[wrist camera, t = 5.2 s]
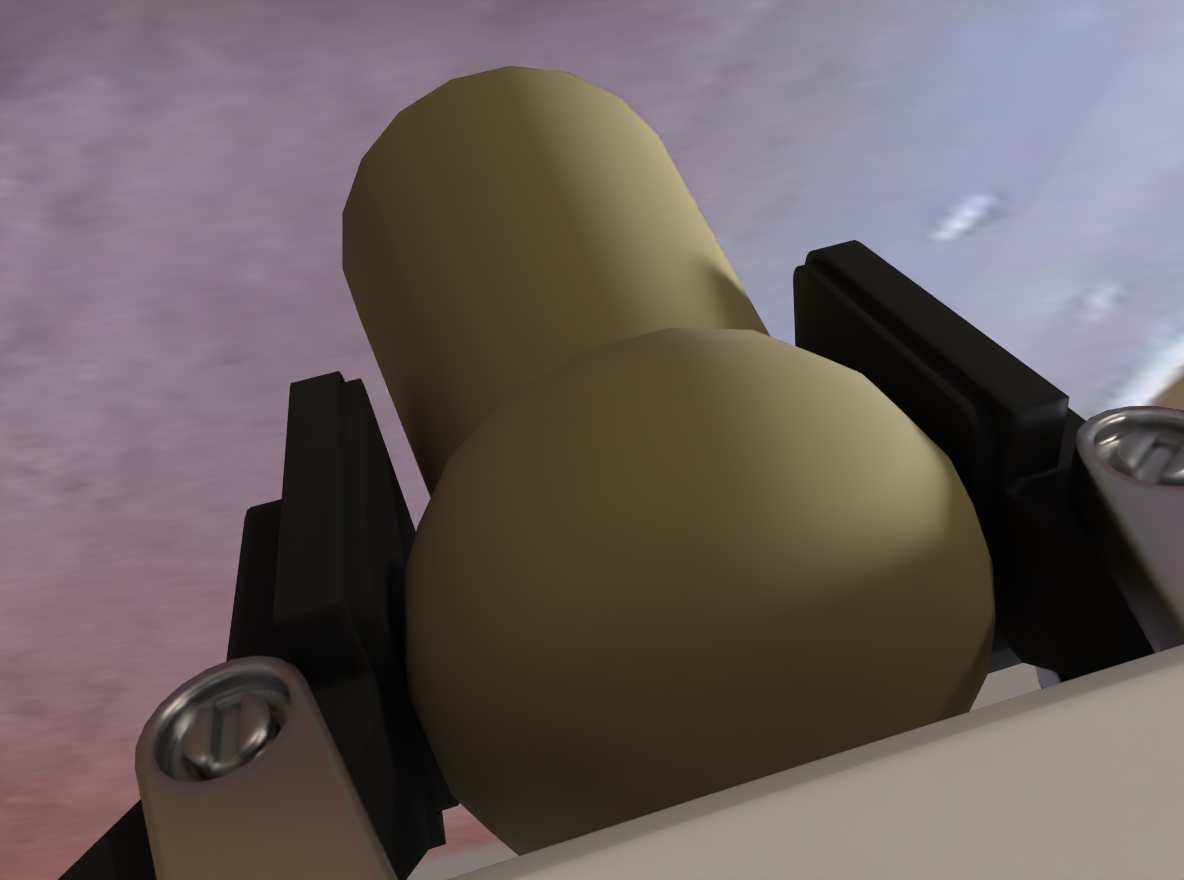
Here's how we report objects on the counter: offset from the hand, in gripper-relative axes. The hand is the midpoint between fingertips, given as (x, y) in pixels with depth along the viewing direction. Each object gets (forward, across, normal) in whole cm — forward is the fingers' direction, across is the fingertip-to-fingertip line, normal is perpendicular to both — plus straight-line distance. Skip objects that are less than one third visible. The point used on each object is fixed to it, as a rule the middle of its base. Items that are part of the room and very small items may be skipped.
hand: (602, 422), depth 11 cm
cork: (+6, 0, 0) cm, 6 cm away
